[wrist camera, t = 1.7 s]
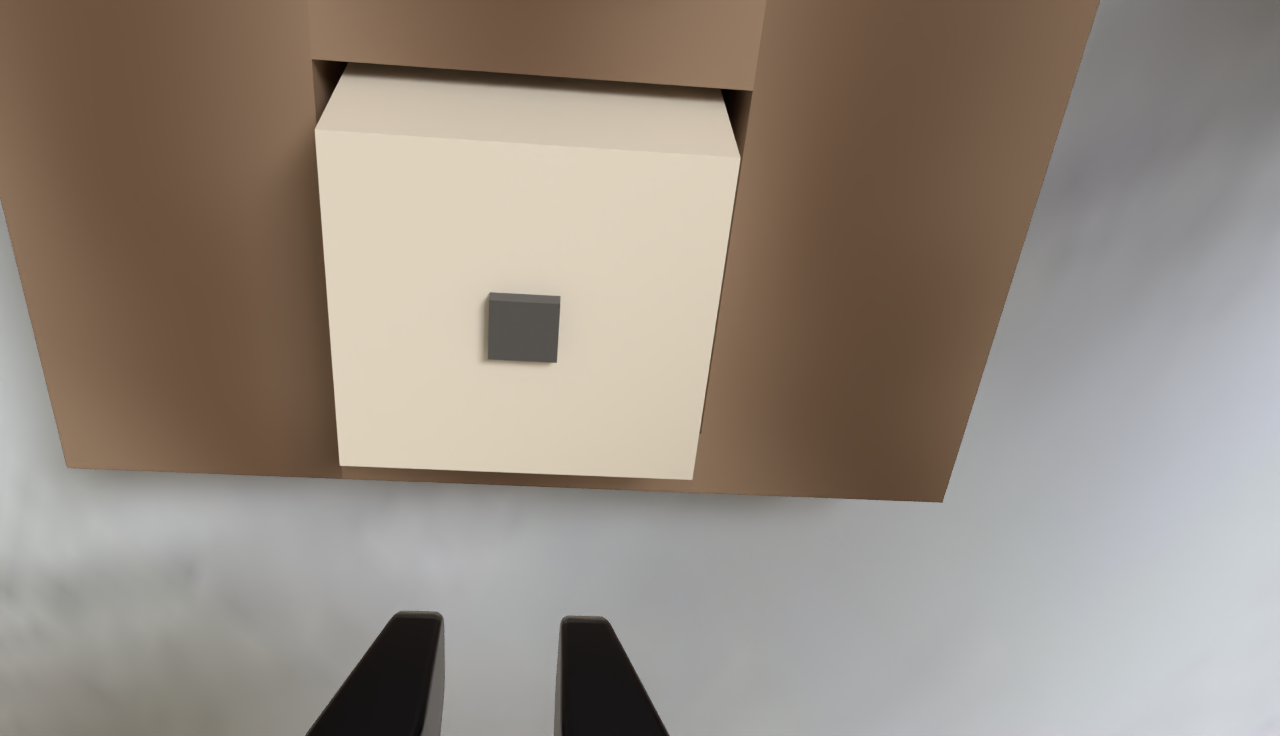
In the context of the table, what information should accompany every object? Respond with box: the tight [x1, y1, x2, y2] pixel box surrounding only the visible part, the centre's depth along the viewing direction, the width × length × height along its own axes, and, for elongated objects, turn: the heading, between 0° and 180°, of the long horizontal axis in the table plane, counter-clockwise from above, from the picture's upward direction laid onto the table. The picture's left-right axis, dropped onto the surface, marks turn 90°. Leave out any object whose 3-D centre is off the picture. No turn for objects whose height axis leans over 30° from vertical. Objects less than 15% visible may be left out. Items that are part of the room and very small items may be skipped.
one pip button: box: [315, 62, 741, 480], centre depth 16 cm, size 5×5×3 cm
